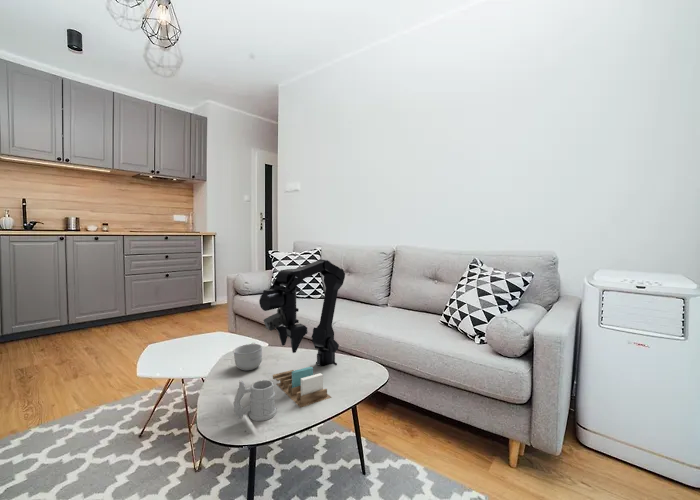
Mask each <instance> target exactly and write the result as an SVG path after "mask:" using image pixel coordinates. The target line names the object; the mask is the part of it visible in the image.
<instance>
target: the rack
mask: <svg viewBox="0 0 700 500" xmlns="http://www.w3.org/2000/svg"><path fill="white" fill-rule="evenodd" d="M276 386H278V388H280V389H281V390H282V392H284V393H285V394H286V395H287V396H288V398H290V399H291V401H293V402H294V403H295V404H296V405H297V406H298V407H299V408H301V409H302V408H303V407H307V406H310V405H313V404H317V403H319V402H322V401H325V400H328V399H332V398H333V397H332V396H331V395H330V394H328V388H323V390H319V391H316V392H313V393H310V394H306V395H303V396H301V386H297V387H294V388H292V375H289V376H285V377H281V378H280V380H279V382H278V383H276Z"/></svg>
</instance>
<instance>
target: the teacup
mask: <svg viewBox="0 0 700 500" xmlns="http://www.w3.org/2000/svg"><path fill="white" fill-rule="evenodd" d="M262 349H263V347H262V345H261V344H259V343H256V342H252V343H248V344H242V345H239V346H237V347H235V348H234V349H233V351H232V352H233V356H234V358H233V359H234V364H235V366H236V368H238V369H240V370H241V371H251V370H255V369H257V368H258V367H259V366H260V365H261V363H262V361H263V350H262Z"/></svg>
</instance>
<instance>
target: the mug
mask: <svg viewBox="0 0 700 500" xmlns="http://www.w3.org/2000/svg"><path fill="white" fill-rule="evenodd" d="M238 383H239V385H238V387H237V391H236V394H235V397H234V400H233V402H232V403H233V409H234V410H233V411H234V415H235V416H237V418H238V419H239V420H241V419H242V418H243V416H245V415H247V413H248V417H249V419H251V421H255V422H256V421H257V422H263V421H267V420H270V419H272V418H274V416H276V414H277V408H276V405H275V404H276V402H275V397H276V391H275V388H274V387H275V385H274V382H273V381H272V380H270V379H269V380H268V379H263V380H262V379H261V380H257V381H255V382H253V383H252V384H250V386H249V387H246V383H245V382H244V381H243V380H241V379H240V380H239V381H238ZM247 393H249V397H248V398H249V400H250V404H248V405H246V406H245V407H243V406H242V405H241V400H242V398H243V396H244V395H245V394H247Z"/></svg>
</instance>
